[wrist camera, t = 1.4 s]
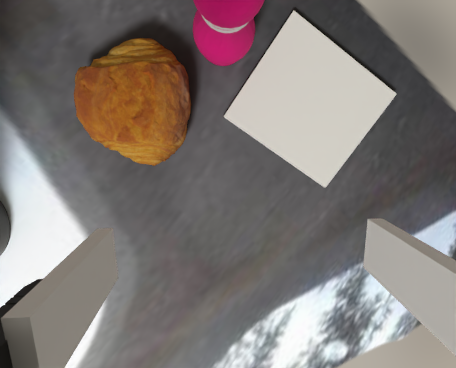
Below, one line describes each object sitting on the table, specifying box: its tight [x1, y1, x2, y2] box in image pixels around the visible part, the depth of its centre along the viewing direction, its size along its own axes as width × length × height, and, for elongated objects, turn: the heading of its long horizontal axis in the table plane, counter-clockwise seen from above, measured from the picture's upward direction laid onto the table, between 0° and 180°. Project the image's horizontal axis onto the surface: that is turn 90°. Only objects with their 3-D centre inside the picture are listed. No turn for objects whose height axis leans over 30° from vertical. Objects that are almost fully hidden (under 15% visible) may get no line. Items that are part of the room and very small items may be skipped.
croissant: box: [74, 38, 191, 166], centre depth 36 cm, size 14×16×8 cm
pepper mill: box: [193, 0, 264, 66], centre depth 28 cm, size 7×7×20 cm
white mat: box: [223, 11, 396, 188], centre depth 39 cm, size 18×16×1 cm
